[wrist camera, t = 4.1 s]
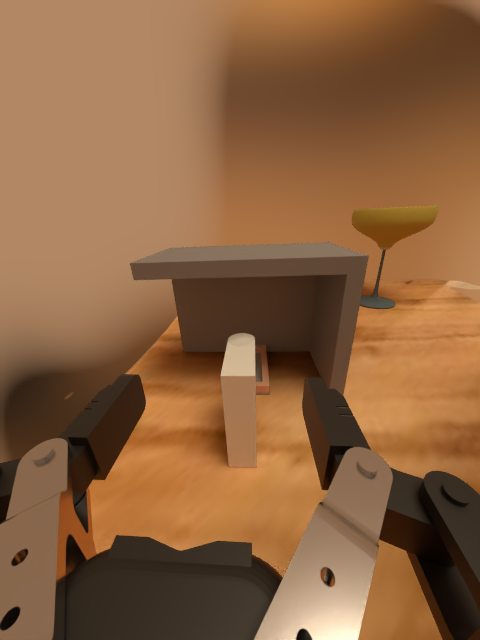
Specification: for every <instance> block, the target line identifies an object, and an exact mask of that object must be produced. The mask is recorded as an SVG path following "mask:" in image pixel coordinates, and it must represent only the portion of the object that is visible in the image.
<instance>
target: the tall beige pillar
mask: <svg viewBox="0 0 480 640" xmlns="http://www.w3.org/2000/svg"><path fill="white" fill-rule="evenodd" d="M220 377H221V388H222V398H223V409H224V420H225V431H226V442H227V453H228V464H229V467H253V468H257V442H256V373H255V337H254V336H253V335H251V334H247V333H237V334H234V335H232V336H230V337H229V338H228V342H227V347H226V352H225V357H224V361H223V366H222V371H221V376H220Z"/></svg>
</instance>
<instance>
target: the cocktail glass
mask: <svg viewBox="0 0 480 640" xmlns="http://www.w3.org/2000/svg"><path fill="white" fill-rule="evenodd" d="M437 213H438V206H420V207H419V206H417V207H395V208H375V209H358V210H354V212H353V216H352V225H353V226H354V227H355V228H356V229H357V230H358V231H359V232H361V233H362V234H364V235H366V236H368V237H370V238H371V239H373V240H374V241H376V242H377V244H378V246H379V247H380V249H382V250H383V252H382V258H381V263H380V267H379V272H378V276H377V281H376V285H375V289H374V292H373V294H372V296H361V300H360V305H361V306H364V307H368V308H375V309H388V308H392V307H394V306H395V302H393V301H392V300H390V299H387V298H383V297H378V286H379V280H380V275H381V270H382V265H383V260H384V256H385V251H386V250H388V249H389V248H391V247H392V246H393V245H394V244H395V243H396V242H398V241H399V240H401V239H403V238H406V237H408V236H411V235H413V234H415V233H418V232H420V231H422V230H424V229H426V228H427V227H429V226H430V225H431V224H433V222H434V221H435V219H436V216H437Z"/></svg>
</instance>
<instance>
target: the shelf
mask: <svg viewBox="0 0 480 640" xmlns="http://www.w3.org/2000/svg"><path fill="white" fill-rule="evenodd" d="M367 262H368V255H365V254H362V253H359V252H356V251H353V250H350V249H347V248H344V247H342V246H339V245H336V244H333V243H330V242H322V243H297V244H296V243H294V244H266V245H241V246H240V245H239V246H210V247H185V248H184V247H182V248H169V249H166V250H164V251H161V252H159V253H156V254H153V255H151V256H148V257H145V258H143V259H140V260H137V261H135V262H132V263H130V266H131V270H132V274H133V278H134V280H155V279H172V284H173V291H174V297H175V302H176V309H177V315H178V321H179V327H180V333H181V340H182V346H183V352H226V347H227V342H228V338H229V337H230V336H232V335H234V334H237V333H247V334H251V335H253V336H254V337H255V373H256V395H269V393H270V385H269V374H268V364H267V353H266V352H310V354H311V356H312V359H313V361H314V363H315V366H316V368H317V371H318V373H319V376H320V377H323V379H324V381H325V383H326V386H327V388H328V389H336V390H337V391H338V392H339V393H340V394H342V395H343V393H344V388H345V382H346V377H347V371H348V366H349V360H350V355H351V350H352V344H353V339H354V333H355V328H356V322H357V317H358V311H359V306H360V300H361V295H362V290H363V284H364V279H365V273H366V268H367Z"/></svg>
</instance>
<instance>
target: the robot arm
mask: <svg viewBox="0 0 480 640" xmlns="http://www.w3.org/2000/svg"><path fill="white" fill-rule="evenodd" d="M145 405H146V399H145V395H144V391H143V387H142V383H141V379H140V376H139V375H128V374H123V375H120V377H118V379H117V380H116V381H115V382H114V383H113V385H109V386H108V387H106V388H104V389H103V390H102V391H100V392H99V393H98V394H97V395H96V396H95V397H94V398H93V399H92V401H91V403H89V404H88V405H87V406H86V407H85V410H83V411H82V412H81V413H80V414H79V415H78V416H77V417H76V418H75V420H74V421H73V422H72V423H71V424H70V425H69V426H68V427H67V429H66V430H65V431H64V432H63V433H62V434H61V435H60V436H59V438H56V439H51V440H48V441H45V442H43V443H41V444H39V445H37V446H36V447H34V448H33V449H31V450H30V451H29V452H28V453H27V454H26V455H25V456H24V457H23V458H21V459H16V460H12V461H8V462H4V463H0V640H358V637H359V632H360V628H361V624H362V619H363V615H364V610H365V606H366V602H367V597H368V593H369V589H370V584H371V580H372V576H373V571H374V567H375V563H376V558H377V553H378V547H379V545H378V540H379V539H380V540H382V541H384V542H387V543H389V544H392V545H394V546H396V547H399V548H401V549H403V550H406V551H407V554H408V556H409V559H410V561H411V564H412V566H413V568H414V571H415V573H416V576H417V578H418V581H419V583H420V585H421V588H422V590H423V593H424V595H425V598H426V600H427V602H428V605H429V607H430V610H431V612H432V615H433V617H434V619H435V622H436V624H437V627H438V629H439V632H440V634H441V636H442V639H443V640H480V495H479V494H478V493H477V492H476V491H475V490H474V489H473V488H472V487H470V486H469V485H468V484H467V483H465V482H464V481H462V480H461V479H459V478H457V477H455V476H453V475H451V474H449V473H445V472H441V471H431V472H429V473H427V474H426V475H425V477H424V479H422V478H419V477H415V476H412V475H409V474H406V473H403V472H400V471H397V470H395V469H393V468H391V467H389V465H388V464H387V463H386V461H385V460H384V459H383V458H382V457H381V456H379V455H378V454H377V453H375V452H373V451H371V449H370V447H369V445H368V443H367V441H366V439H365V437H364V435H363V433H362V431H361V429H360V427H359V425H358V423H357V421H356V419H355V417H354V416H353V414H352V412H351V410H350V408H349V406H348V404H347V402H346V400H345V398H344V396H343V395H342V394H340V393H339V392H338V391H337V390H336V389H328V388H327V386H326V383H325V381H324V379H323V377H306V378H305V383H304V392H303V402H302V408H303V416H304V420H305V424H306V428H307V432H308V436H309V440H310V444H311V448H312V452H313V456H314V460H315V464H316V468H317V472H318V476H319V480H320V483H321V487H322V490H328V491H327V494H326V496H325V498H324V500H323V502H322V503H321V502H320V503H319V504H318V506H317V508H316V510H315V512H314V514H313V516H312V518H311V520H310V522H309V524H308V526H307V528H306V531H305V533H304V535H303V537H302V539H301V541H300V543H299V545H298V547H297V550H296V552H295V554H294V556H293V558H292V560H291V562H290V564H289V566H288V569H287V571H286V573H285V575H284V577H282V576H281V575H280V574H279V573H278V572H277V571H276V570H275V569H274V568H273V567H272V566H270V565H269V564H268V563H266V562H265V561H263V560H262V559H260V558H258V557H256V556H254V555H252V543H245V542H227V541H216V542H212V543H208V544H205V545H201V546H198V547H194V548H190V549H187V550H183V551H179V550H176V549H174V548H171V547H169V546H167V545H165V544H163V543H160V542H158V541H156V540H154V539H152V538H149V537H137V536H119V535H116V537H115V540H114V542H113V544H112V547H111V549H108V550H105V551H103V552H101V553H99V554H97V553H96V549H95V546H94V541H93V531H92V517H91V502H90V491H89V488H88V487H89V485H90V483H91V482H92V480H105V479H106V477H107V475H108V473H109V472H110V470H111V468H112V466H113V465H114V463H115V461H116V459H117V458H118V456H119V454H120V452H121V451H122V449H123V447H124V445H125V444H126V442H127V440H128V438H129V437H130V435H131V433H132V431H133V430H134V428H135V426H136V424H137V423H138V421H139V419H140V417H141V416H142V414H143V412H144V409H145Z"/></svg>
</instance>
